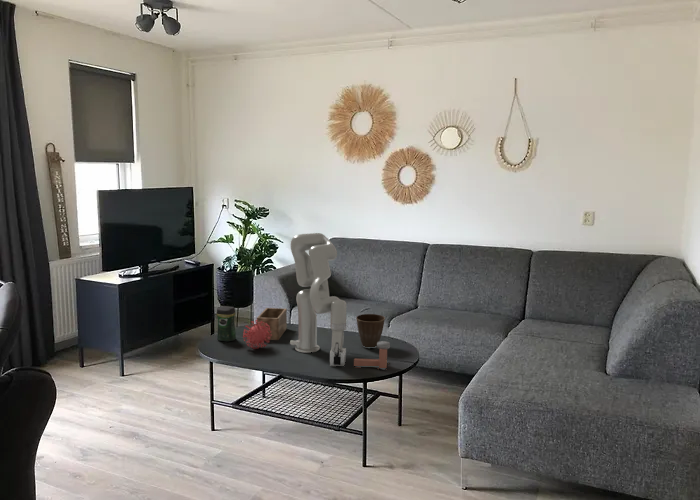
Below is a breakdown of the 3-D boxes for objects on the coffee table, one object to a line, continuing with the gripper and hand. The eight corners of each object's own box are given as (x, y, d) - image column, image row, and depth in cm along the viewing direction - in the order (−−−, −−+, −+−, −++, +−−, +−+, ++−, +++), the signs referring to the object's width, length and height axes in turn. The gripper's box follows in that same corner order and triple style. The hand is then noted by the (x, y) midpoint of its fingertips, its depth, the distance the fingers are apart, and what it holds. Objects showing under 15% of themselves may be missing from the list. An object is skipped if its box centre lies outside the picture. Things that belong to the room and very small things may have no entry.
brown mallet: (353, 368, 267) (353, 344, 265) (354, 363, 274) (355, 339, 272) (389, 370, 266) (389, 345, 264) (389, 365, 273) (390, 341, 271)
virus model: (275, 344, 301) (274, 317, 299) (266, 353, 286) (266, 325, 284) (248, 343, 303) (247, 315, 301) (238, 352, 289) (238, 323, 286)
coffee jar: (238, 338, 311) (237, 305, 308) (230, 342, 303) (230, 308, 300) (222, 336, 313) (221, 303, 311) (214, 340, 306) (214, 307, 303)
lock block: (329, 366, 270) (329, 352, 269) (331, 361, 277) (331, 347, 276) (344, 366, 270) (344, 352, 269) (345, 362, 276) (345, 348, 275)
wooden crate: (256, 339, 310) (256, 317, 308) (266, 327, 332) (266, 307, 330) (278, 340, 309) (278, 318, 307) (286, 328, 331) (286, 308, 329)
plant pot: (387, 350, 294) (388, 320, 292) (359, 352, 291) (359, 322, 289) (379, 342, 308) (380, 313, 306) (353, 343, 305) (353, 314, 303)
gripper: (332, 320, 279) (332, 355, 282) (328, 330, 262) (327, 367, 265) (347, 321, 279) (347, 356, 281) (344, 331, 262) (343, 368, 264)
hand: (337, 361), depth 273 cm, fingers closed on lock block, 6 cm apart
